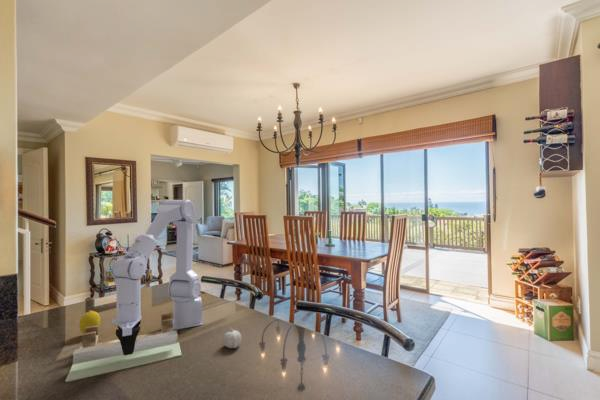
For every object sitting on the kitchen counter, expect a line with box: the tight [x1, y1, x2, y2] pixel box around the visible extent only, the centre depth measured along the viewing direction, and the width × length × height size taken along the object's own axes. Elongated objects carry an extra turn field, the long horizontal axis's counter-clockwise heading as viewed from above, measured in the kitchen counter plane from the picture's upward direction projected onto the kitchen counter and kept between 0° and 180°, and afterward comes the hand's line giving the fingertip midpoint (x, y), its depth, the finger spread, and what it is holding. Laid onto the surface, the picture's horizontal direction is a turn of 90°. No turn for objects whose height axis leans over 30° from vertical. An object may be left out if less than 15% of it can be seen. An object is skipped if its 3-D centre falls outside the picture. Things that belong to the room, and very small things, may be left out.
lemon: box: [78, 309, 101, 334], centre depth 95 cm, size 6×6×8 cm
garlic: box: [222, 327, 242, 349], centre depth 88 cm, size 6×5×5 cm
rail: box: [72, 331, 178, 365], centre depth 80 cm, size 24×3×3 cm, turn 117°
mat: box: [64, 341, 182, 383], centre depth 80 cm, size 26×8×1 cm, turn 117°
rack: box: [78, 313, 179, 349], centre depth 89 cm, size 26×6×6 cm, turn 117°
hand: (128, 351), depth 80 cm, fingers closed on rail, 3 cm apart
